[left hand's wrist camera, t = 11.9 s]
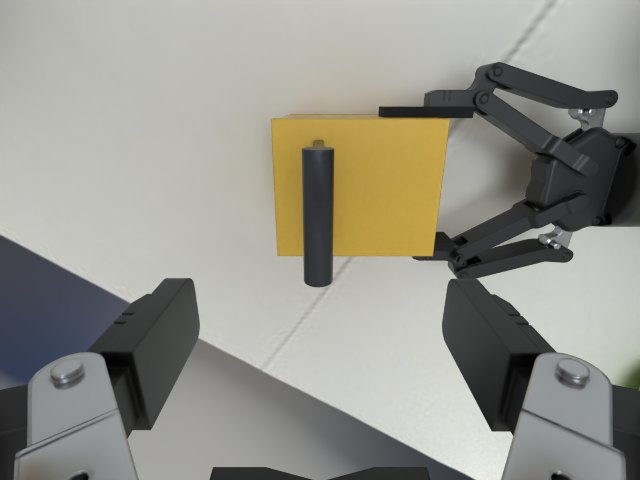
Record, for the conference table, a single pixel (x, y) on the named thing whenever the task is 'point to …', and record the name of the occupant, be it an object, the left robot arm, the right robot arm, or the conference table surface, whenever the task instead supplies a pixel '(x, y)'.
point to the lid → (356, 188)
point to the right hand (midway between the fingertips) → (377, 181)
